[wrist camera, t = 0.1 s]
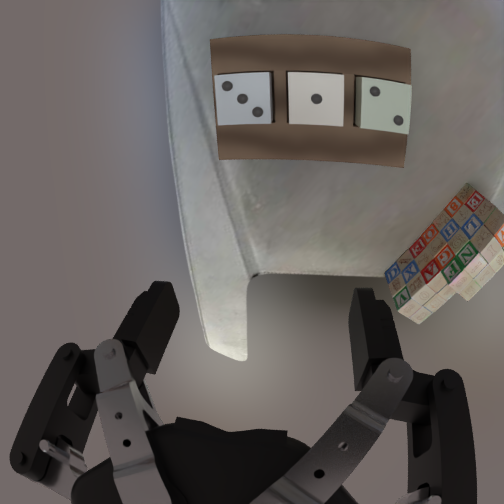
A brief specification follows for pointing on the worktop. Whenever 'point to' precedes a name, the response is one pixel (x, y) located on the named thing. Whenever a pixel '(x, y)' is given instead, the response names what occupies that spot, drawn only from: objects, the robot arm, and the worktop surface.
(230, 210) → the worktop surface
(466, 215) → the stack of blocks
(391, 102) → the key
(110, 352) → the robot arm
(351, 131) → the key panel
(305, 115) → the key
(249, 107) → the key
